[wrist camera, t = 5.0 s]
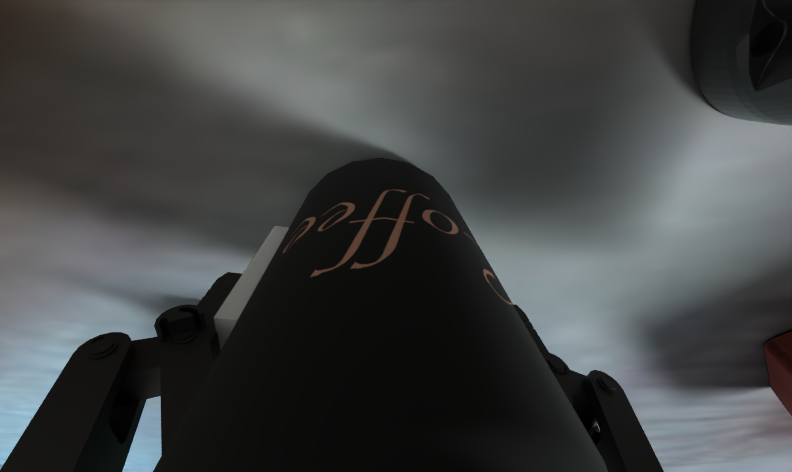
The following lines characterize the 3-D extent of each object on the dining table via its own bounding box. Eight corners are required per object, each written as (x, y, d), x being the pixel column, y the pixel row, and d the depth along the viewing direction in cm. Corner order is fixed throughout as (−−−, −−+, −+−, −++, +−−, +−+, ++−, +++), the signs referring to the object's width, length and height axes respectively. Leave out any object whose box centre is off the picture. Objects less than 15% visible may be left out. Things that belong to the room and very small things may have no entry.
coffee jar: (480, 184, 19) (982, 732, 3) (418, 298, 24) (498, 731, 8) (322, 126, 16) (-768, 1233, 1) (290, 266, 21) (53, 798, 6)
